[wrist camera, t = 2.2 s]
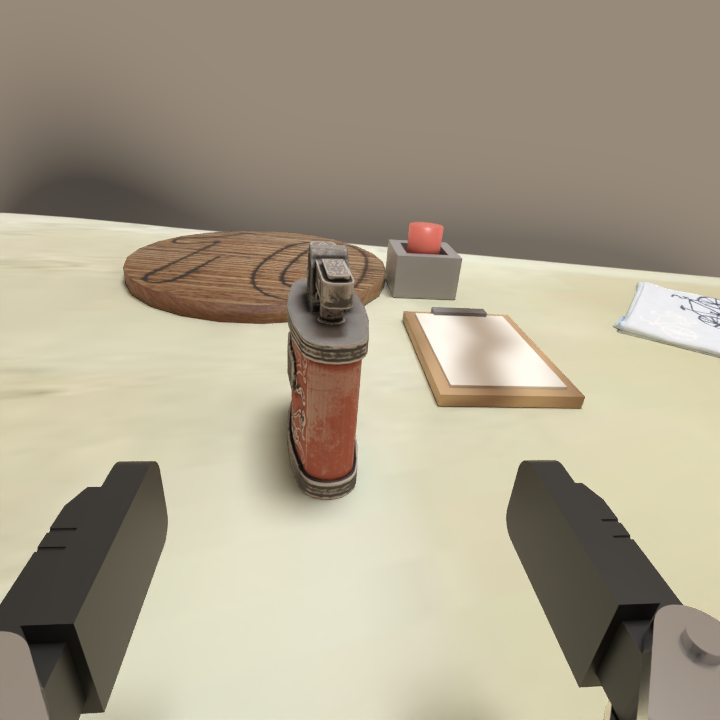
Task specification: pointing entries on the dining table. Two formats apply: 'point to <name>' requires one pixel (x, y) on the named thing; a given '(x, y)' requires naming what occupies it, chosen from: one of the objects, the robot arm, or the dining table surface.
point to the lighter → (325, 372)
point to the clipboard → (485, 361)
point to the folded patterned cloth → (674, 319)
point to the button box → (422, 272)
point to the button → (424, 238)
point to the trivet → (236, 274)
